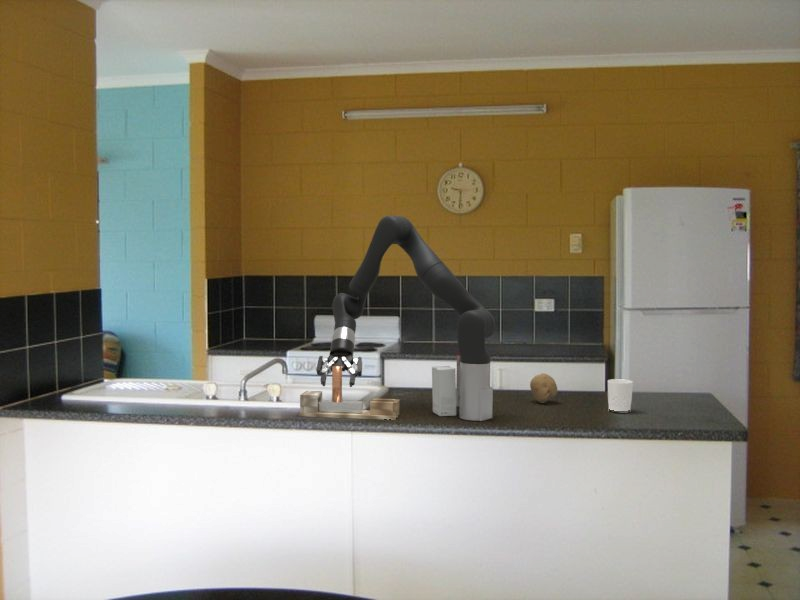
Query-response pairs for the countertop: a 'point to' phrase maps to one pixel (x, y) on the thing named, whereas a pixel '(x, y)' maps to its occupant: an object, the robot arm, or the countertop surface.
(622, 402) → the white cup
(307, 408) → the channel and socket
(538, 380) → the tan round lump
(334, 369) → the copper rod stand
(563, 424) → the countertop surface
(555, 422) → the countertop surface
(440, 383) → the skincare box
